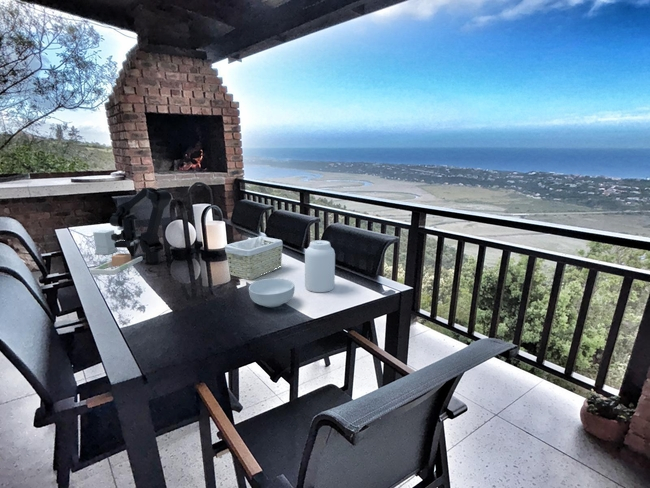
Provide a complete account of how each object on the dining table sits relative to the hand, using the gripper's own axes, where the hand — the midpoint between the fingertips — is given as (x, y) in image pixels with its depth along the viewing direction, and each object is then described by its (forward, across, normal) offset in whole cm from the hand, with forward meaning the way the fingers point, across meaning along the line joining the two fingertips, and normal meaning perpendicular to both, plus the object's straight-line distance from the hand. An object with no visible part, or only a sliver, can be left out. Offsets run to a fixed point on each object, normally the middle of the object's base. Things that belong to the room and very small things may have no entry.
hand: (133, 256), depth 177 cm
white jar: (+2, +33, +101) cm, 106 cm away
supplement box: (+2, -11, -22) cm, 25 cm away
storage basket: (+2, +15, +69) cm, 71 cm away
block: (+2, +9, 0) cm, 9 cm away
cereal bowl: (+2, +50, +84) cm, 98 cm away
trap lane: (+2, +12, 0) cm, 12 cm away
